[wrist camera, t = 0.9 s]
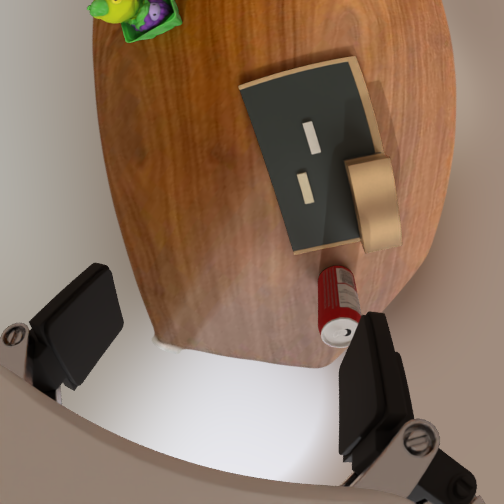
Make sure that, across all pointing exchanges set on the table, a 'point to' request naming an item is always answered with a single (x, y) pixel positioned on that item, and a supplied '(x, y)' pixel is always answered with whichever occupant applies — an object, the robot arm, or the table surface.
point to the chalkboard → (298, 151)
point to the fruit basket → (138, 16)
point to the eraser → (374, 201)
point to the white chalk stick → (311, 137)
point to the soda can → (337, 306)
